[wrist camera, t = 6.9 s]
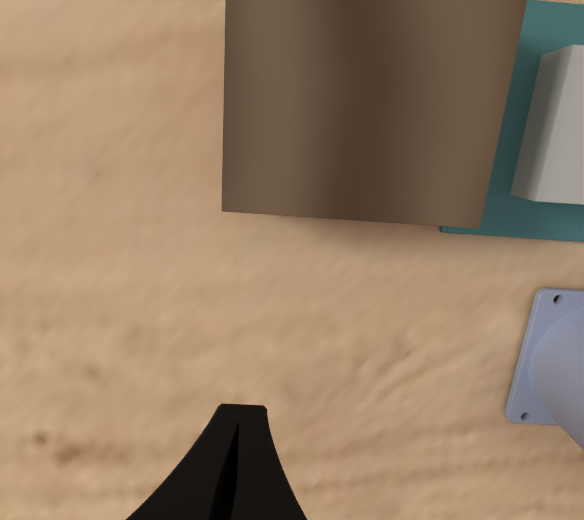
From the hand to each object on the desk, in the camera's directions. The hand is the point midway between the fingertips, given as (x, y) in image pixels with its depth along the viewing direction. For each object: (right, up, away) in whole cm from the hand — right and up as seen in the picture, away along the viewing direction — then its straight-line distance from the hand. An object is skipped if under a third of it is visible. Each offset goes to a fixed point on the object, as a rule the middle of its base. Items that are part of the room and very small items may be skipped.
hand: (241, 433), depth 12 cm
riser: (+4, +12, +6) cm, 14 cm away
